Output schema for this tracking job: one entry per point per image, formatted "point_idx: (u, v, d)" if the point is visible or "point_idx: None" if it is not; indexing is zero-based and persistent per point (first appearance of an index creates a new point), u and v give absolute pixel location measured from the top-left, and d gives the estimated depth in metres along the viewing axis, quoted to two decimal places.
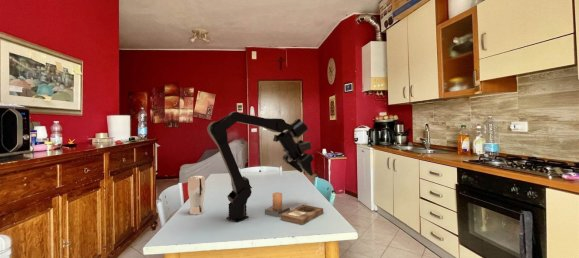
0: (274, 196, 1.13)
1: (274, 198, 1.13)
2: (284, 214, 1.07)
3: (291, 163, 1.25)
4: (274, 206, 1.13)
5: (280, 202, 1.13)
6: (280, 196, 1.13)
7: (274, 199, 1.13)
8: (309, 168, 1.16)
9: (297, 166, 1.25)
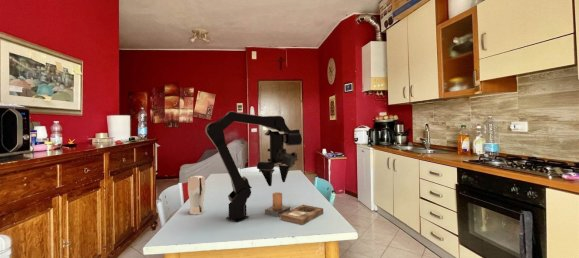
0: (274, 196, 1.13)
1: (274, 198, 1.13)
2: (284, 214, 1.07)
3: (280, 167, 1.20)
4: (274, 206, 1.13)
5: (280, 202, 1.13)
6: (280, 196, 1.13)
7: (274, 199, 1.13)
8: (268, 177, 1.10)
9: (283, 174, 1.19)
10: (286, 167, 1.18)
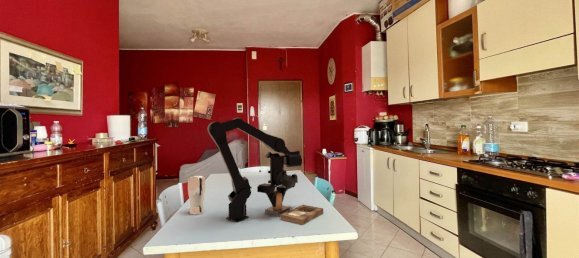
0: None
1: None
2: (284, 214, 1.07)
3: (277, 189, 1.18)
4: None
5: (280, 202, 1.13)
6: (280, 196, 1.13)
7: None
8: (272, 198, 1.12)
9: None
10: (283, 189, 1.16)
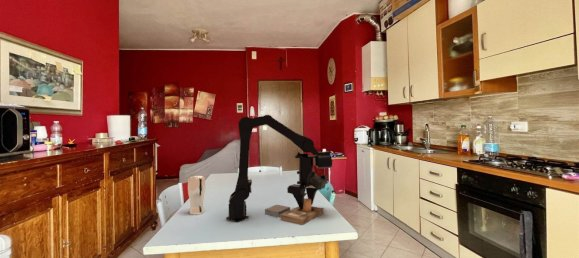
0: None
1: (304, 204, 1.11)
2: (284, 214, 1.07)
3: (307, 189, 1.17)
4: None
5: (309, 208, 1.11)
6: (309, 202, 1.11)
7: (303, 206, 1.11)
8: (300, 200, 1.09)
9: (310, 196, 1.16)
10: (313, 190, 1.15)
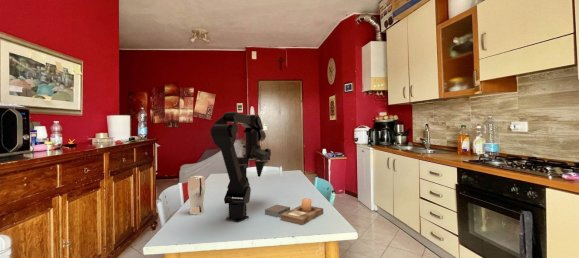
0: (303, 202, 1.11)
1: (304, 204, 1.11)
2: (284, 214, 1.07)
3: (256, 162, 1.28)
4: None
5: (309, 208, 1.11)
6: (310, 202, 1.11)
7: (303, 205, 1.11)
8: (242, 171, 1.18)
9: (258, 169, 1.27)
10: (261, 162, 1.26)
